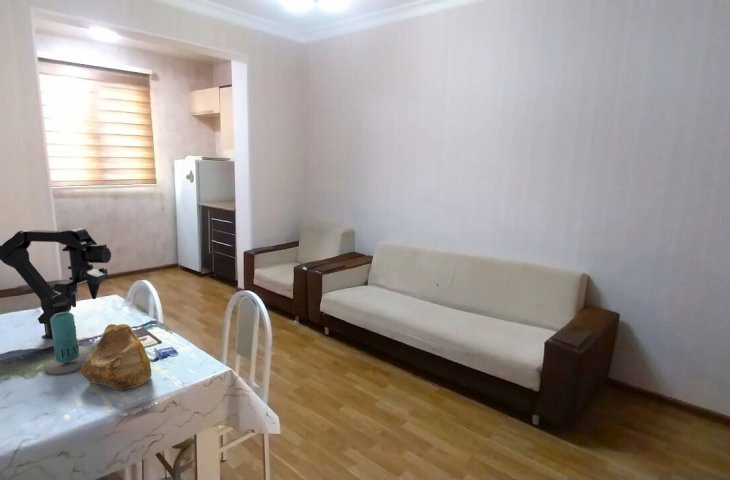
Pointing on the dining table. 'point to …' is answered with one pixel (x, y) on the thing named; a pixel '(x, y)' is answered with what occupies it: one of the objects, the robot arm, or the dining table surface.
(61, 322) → the beverage bottle
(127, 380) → the rough brown rock
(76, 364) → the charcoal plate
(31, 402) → the dining table surface
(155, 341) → the chocolate bar
